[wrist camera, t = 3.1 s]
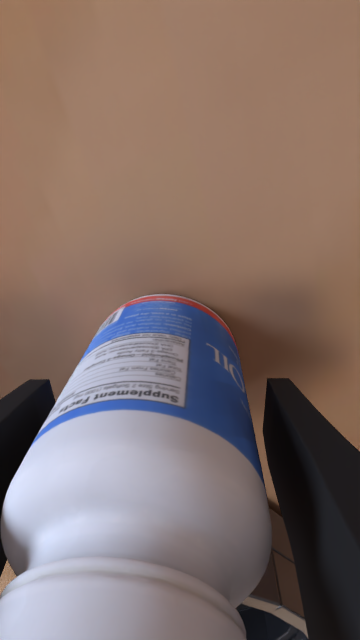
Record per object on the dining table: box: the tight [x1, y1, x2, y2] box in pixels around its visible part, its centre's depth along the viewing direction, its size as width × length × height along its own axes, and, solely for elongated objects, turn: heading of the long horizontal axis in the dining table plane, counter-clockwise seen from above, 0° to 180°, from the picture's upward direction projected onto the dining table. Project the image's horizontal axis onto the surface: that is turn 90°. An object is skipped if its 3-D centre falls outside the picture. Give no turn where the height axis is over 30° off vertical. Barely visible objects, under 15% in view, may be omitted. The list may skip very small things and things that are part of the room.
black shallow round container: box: [235, 507, 309, 640], centre depth 17 cm, size 13×13×4 cm
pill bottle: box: [0, 294, 272, 640], centre depth 9 cm, size 6×5×10 cm
